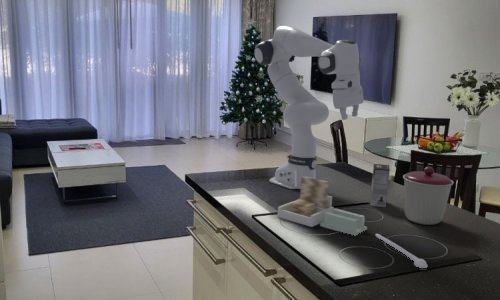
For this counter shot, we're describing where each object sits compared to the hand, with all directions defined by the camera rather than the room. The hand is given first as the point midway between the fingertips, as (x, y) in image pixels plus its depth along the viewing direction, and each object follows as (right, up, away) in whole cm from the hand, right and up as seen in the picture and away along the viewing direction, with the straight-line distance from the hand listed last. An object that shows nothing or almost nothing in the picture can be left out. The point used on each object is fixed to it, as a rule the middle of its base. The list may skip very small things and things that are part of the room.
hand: (349, 117), depth 199 cm
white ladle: (+8, -46, -36) cm, 59 cm away
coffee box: (+15, -35, +15) cm, 41 cm away
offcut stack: (-19, -38, -9) cm, 44 cm away
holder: (-6, -40, -17) cm, 44 cm away
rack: (-18, -38, -7) cm, 43 cm away
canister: (+27, -40, -4) cm, 48 cm away
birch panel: (-15, -37, -3) cm, 40 cm away
